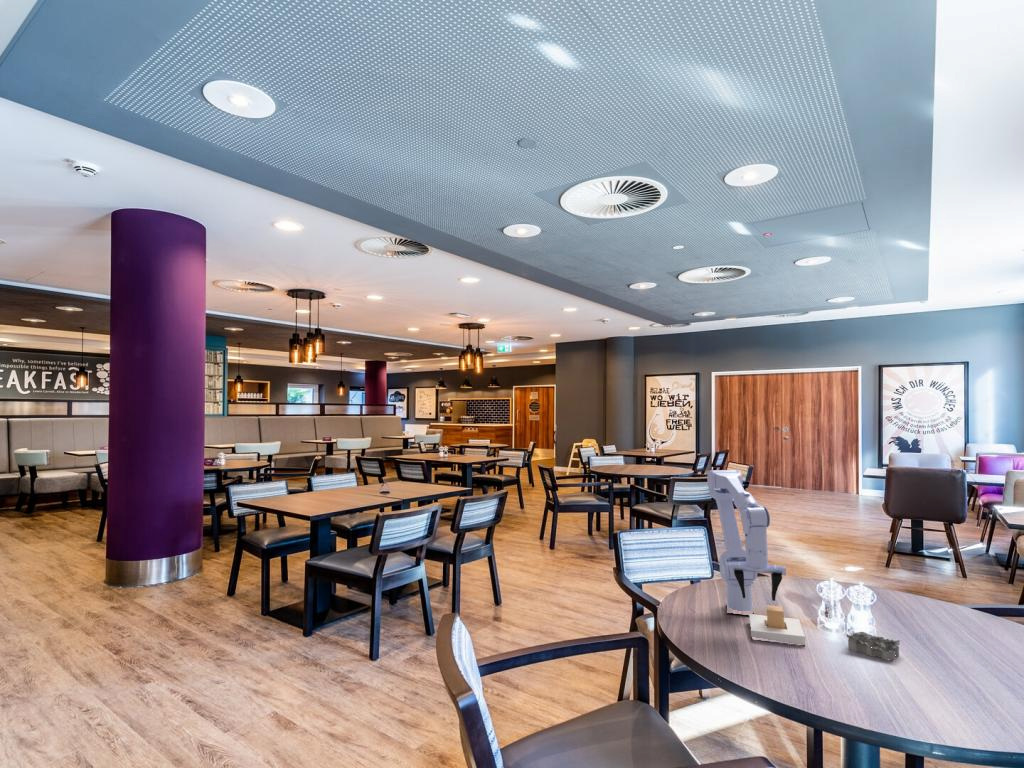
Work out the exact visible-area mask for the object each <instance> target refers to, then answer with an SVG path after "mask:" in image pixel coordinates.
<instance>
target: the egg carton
mask: <svg viewBox="0 0 1024 768" xmlns="http://www.w3.org/2000/svg"><path fill="white" fill-rule="evenodd" d="M846 637H847V638H848V639H847V641H848V642H847V644H848V645H847V646H848V649H849V650H851V651H852V652H853V653H864V654H866V655H867V656H868V655H869V657H878V656H880V657H879V658H881V657H882V658H883V659H885V660H884V661H887V660H888V659H891V660H890V661H893V660H895V661H896V657H899V656H900V640H893V639H889V638H885V637H883V636H877V635H871V634H869V633H867V632H864V631H857V632H855V633H854V632H853V633H852V634H846ZM871 647H872V648H871ZM886 651H888V652H886ZM874 655H876V656H874ZM895 655H896V656H895ZM882 658H881V659H882ZM883 659H882V660H883ZM888 661H889V660H888Z"/></svg>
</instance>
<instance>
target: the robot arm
mask: <svg viewBox="0 0 1024 768" xmlns="http://www.w3.org/2000/svg"><path fill="white" fill-rule="evenodd" d="M706 478H707V481H706V482H707V487H708V492H709V495H710V497H711V498H713V499H714V500H715V502H716V506H717V510H718V514H719V515H718V516H719V519H720V526H721V530H722V535H723V536H722V537H723V539H724V544H725V545H724V546H725V551H724V552H723V553H722V554H721V555H720V556H719V558H718V561H719V562H718V563H719V575H720V577H721V578H722V580H723V581H724V582H725V584H726V603H727V606H728V607H729V608H731V609H733V610H737V611H751V610H752V605H753V597H752V596H753V594H752V585H753V584H754V581H756V579H757V577H758V574H770V578H771V601H773V602H775V601H776V597H777V596H776V595H777V592H778V589H779V586H780V584H781V582H782V580H783V576H786V575H787V569H786V566H785V565H784V566H782V565H774V564H769V556H768V553H769V552H768V533H767V528H769V527H770V524H771V523H770V522H771V517H770V513H769V511H768V508H767V507H766V506H763V505H759V503H758V502H757V501H756V499H755V498H754V497H753V495H752V493H750V492H748V491H745V489H744V486H743V480H744V479H743V475H742V472H741V471H740V470H739V469H726V470H725V469H721V470H719V469H717V470H716V469H715V470H714V469H710V470H709V471H708V473H707V477H706ZM734 505H735V507H736V509H737V510H738V512H739V514H740V522H741V525H742V531H743V533H744V540H745V543H744V546H745V549H743V545H742V541H741V536H740V532H739V531H740V530H739V527H738V522H737V517H736V513H735V509H734Z"/></svg>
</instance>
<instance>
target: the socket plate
mask: <svg viewBox="0 0 1024 768" xmlns="http://www.w3.org/2000/svg"><path fill="white" fill-rule="evenodd" d="M748 617H749V626H750V627H751V629H750V637H756V638H763V639H768V640H776V641H782V642H788V643H794V644H801V645H805V646H806V636H805V632H804V630H803V626H802V624H801V621H800V619H799V618H792V617H784V629H778V628H769V627H765V626H767V615H761V614H755V613H754V614H749V616H748ZM750 627H749V628H750Z"/></svg>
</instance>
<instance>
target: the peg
mask: <svg viewBox="0 0 1024 768" xmlns="http://www.w3.org/2000/svg"><path fill="white" fill-rule="evenodd" d="M783 608H784V607H783V606H779V605H778V606H777V605H769V604H768V605H767V604H766V616H767V627H769V628H778V629H784V618H785V617H784V616H785V615H784V614H785V612H784V609H783Z"/></svg>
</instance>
